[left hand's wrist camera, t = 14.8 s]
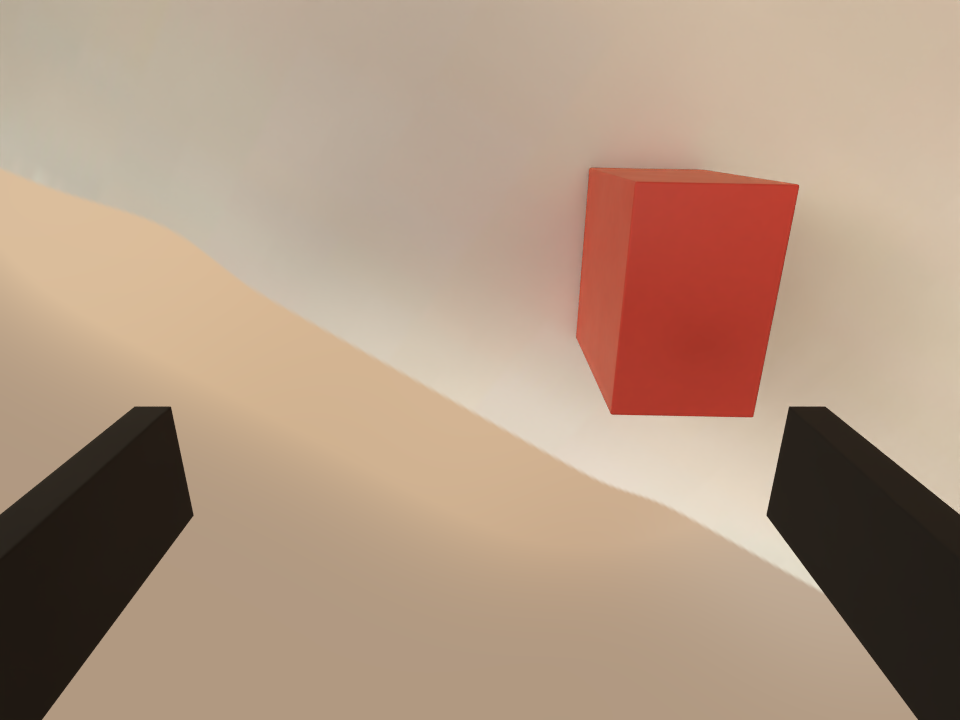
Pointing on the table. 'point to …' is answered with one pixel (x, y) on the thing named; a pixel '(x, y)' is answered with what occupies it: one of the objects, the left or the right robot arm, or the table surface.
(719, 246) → the block
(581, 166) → the table surface
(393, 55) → the table surface
